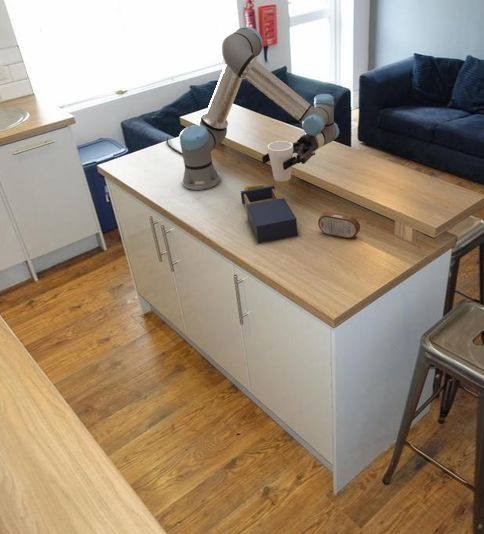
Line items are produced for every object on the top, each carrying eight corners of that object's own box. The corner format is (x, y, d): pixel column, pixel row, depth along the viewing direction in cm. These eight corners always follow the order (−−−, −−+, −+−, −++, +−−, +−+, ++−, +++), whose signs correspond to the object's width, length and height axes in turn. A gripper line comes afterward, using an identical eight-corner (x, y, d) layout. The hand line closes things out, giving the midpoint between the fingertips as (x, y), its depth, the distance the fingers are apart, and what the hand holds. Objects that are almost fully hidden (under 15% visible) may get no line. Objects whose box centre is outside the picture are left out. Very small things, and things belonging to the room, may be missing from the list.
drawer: (238, 196, 227) (237, 184, 224) (270, 190, 230) (269, 178, 226) (250, 221, 210) (249, 209, 207) (285, 215, 212) (284, 202, 209)
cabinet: (248, 221, 212) (246, 204, 208) (285, 214, 215) (284, 197, 211) (258, 243, 199) (256, 226, 195) (297, 235, 201) (296, 218, 197)
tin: (360, 236, 198) (360, 216, 193) (357, 241, 196) (357, 220, 191) (320, 229, 204) (320, 209, 199) (317, 234, 202) (316, 213, 197)
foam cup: (292, 183, 209) (290, 151, 201) (267, 183, 211) (265, 150, 203) (296, 172, 216) (294, 140, 209) (273, 172, 218) (270, 140, 211)
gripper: (333, 157, 216) (297, 179, 203) (288, 145, 228) (252, 165, 214) (333, 139, 212) (296, 160, 198) (287, 128, 224) (250, 147, 210)
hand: (273, 163), depth 206 cm, fingers closed on foam cup, 9 cm apart
